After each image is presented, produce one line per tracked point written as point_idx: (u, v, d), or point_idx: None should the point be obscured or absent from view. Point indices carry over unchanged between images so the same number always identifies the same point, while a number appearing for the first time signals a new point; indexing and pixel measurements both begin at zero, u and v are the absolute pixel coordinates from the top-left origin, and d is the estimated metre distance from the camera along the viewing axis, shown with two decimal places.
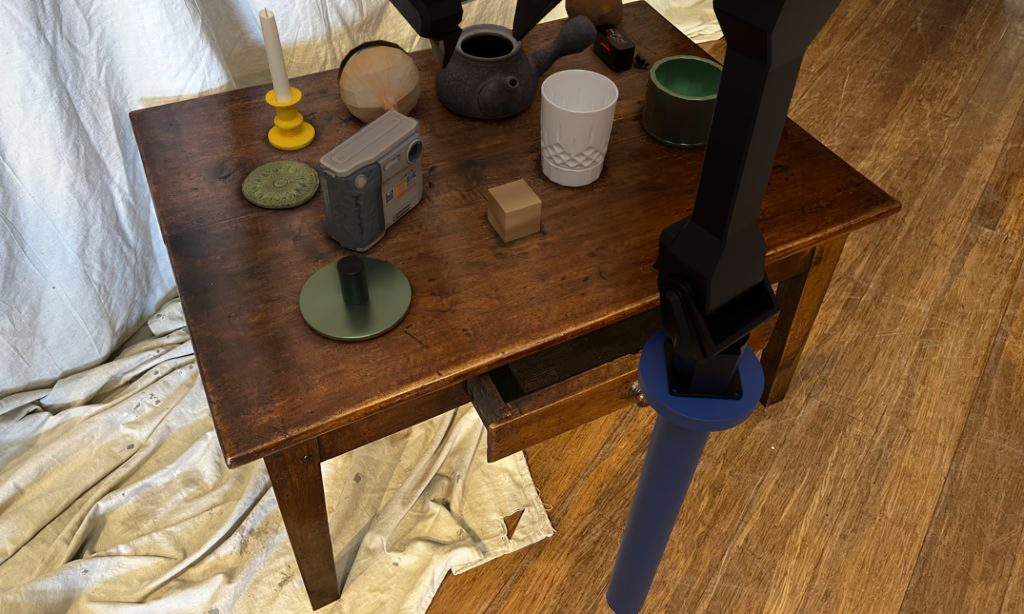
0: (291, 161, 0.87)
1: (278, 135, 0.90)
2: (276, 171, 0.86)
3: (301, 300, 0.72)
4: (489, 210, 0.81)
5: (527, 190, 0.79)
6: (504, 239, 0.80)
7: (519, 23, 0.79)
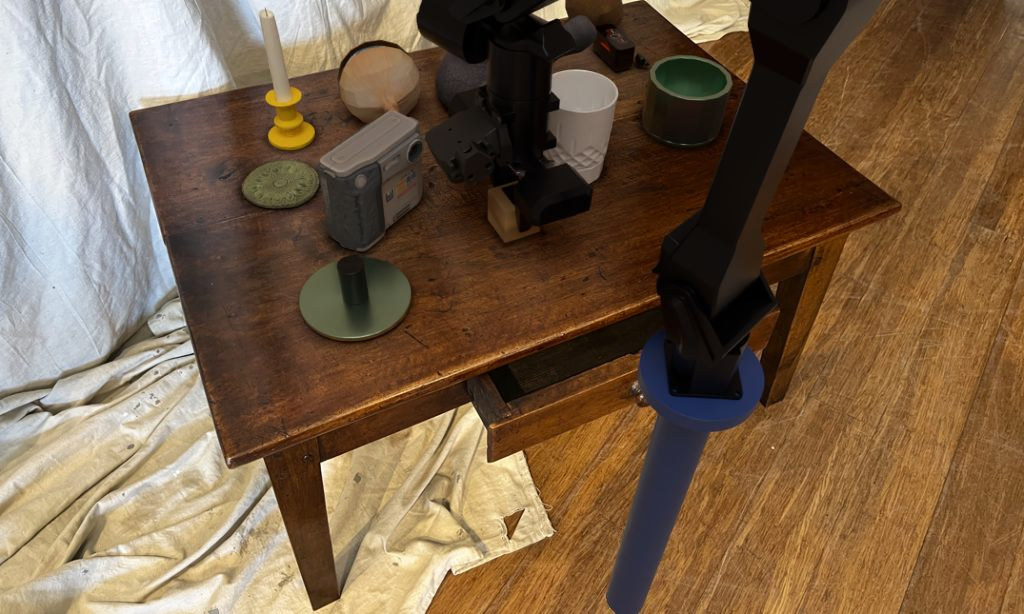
0: (291, 161, 0.87)
1: (278, 135, 0.90)
2: (276, 171, 0.86)
3: (301, 300, 0.72)
4: (489, 210, 0.81)
5: None
6: (504, 239, 0.80)
7: None
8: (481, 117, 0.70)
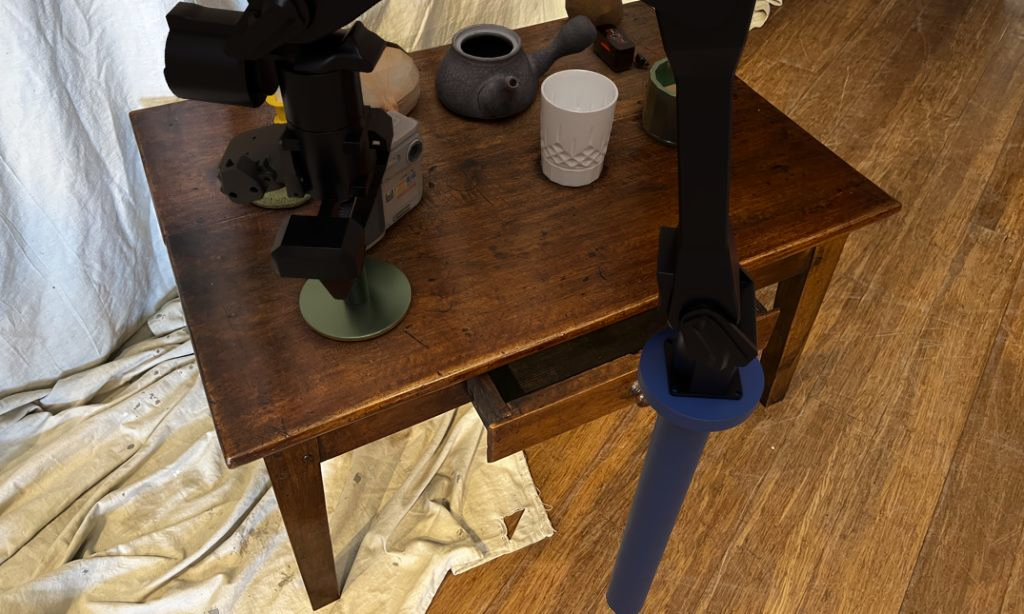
0: None
1: None
2: None
3: (301, 300, 0.72)
4: None
5: None
6: None
7: (358, 212, 0.71)
8: None
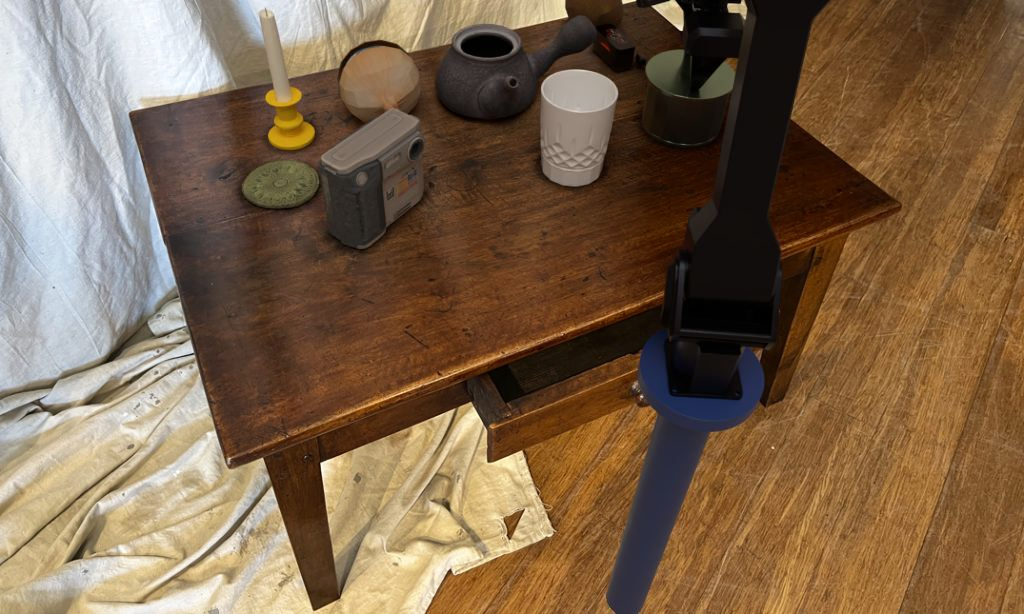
0: (291, 161, 0.87)
1: (278, 135, 0.90)
2: (276, 171, 0.86)
3: (649, 75, 0.89)
4: None
5: None
6: None
7: None
8: None
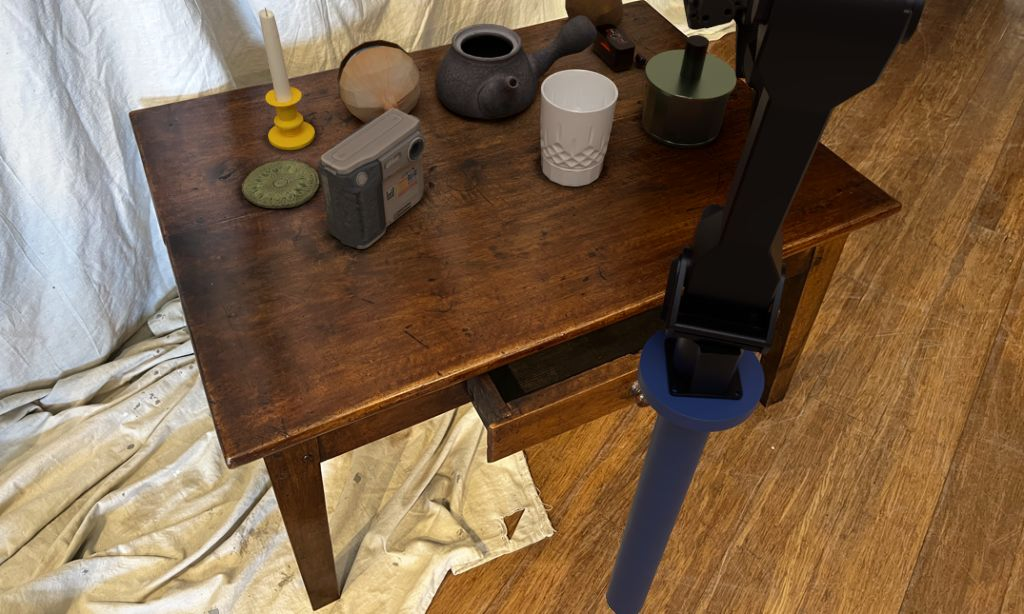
0: (291, 161, 0.87)
1: (278, 135, 0.90)
2: (276, 171, 0.86)
3: (649, 75, 0.89)
4: None
5: None
6: None
7: None
8: None
